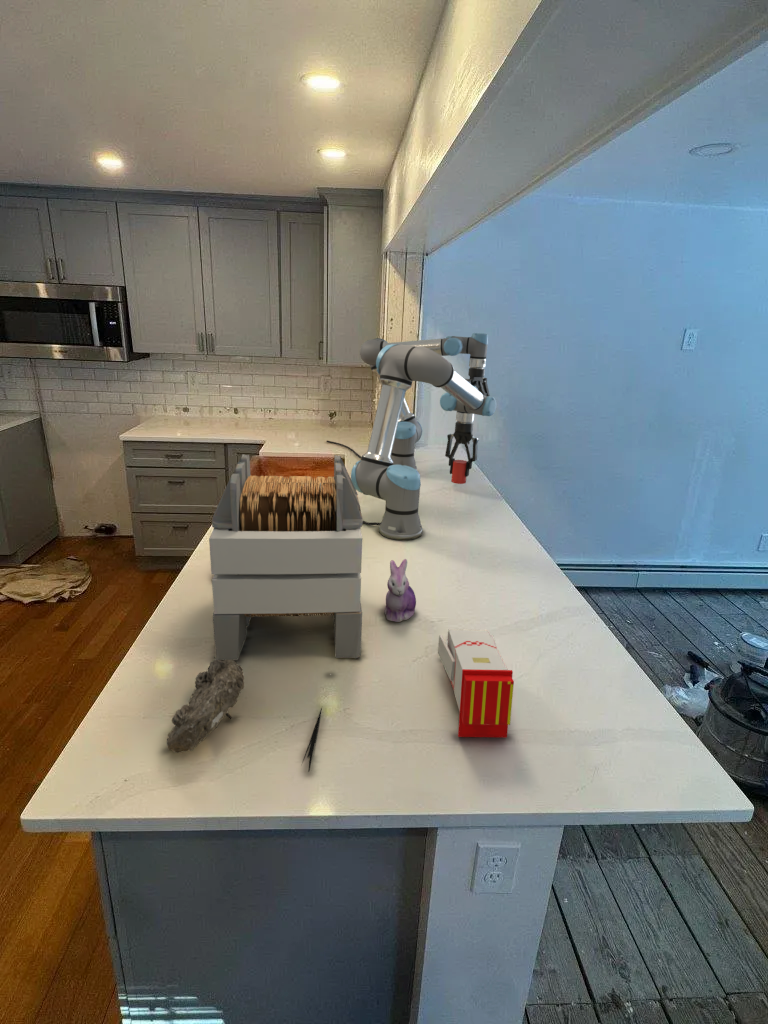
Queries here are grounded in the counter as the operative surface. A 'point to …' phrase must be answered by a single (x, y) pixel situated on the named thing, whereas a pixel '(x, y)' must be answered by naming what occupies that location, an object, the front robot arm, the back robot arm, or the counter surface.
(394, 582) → the figurine
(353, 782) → the counter surface
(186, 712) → the fossil
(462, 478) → the canister
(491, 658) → the toy
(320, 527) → the record crate
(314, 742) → the feather
